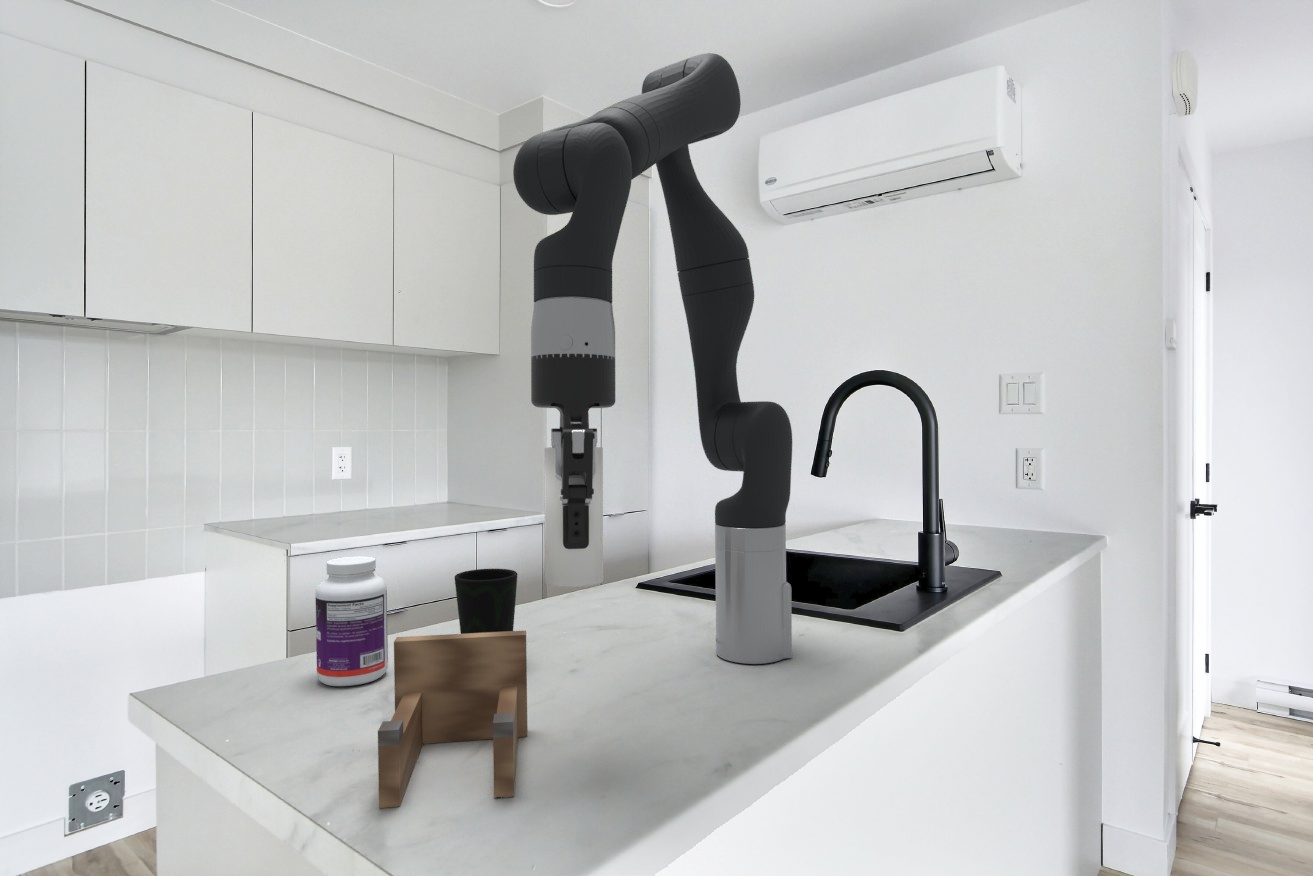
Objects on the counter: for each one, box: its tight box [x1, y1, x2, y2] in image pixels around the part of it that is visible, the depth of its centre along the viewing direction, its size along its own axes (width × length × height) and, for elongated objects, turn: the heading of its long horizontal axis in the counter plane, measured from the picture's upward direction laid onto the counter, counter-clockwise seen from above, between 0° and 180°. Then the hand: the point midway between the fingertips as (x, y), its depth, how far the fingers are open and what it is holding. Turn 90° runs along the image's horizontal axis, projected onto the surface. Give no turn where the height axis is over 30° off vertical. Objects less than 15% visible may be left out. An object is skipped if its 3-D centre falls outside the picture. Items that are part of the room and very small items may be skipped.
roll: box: [544, 446, 604, 588], centre depth 68 cm, size 5×5×12 cm
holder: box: [377, 630, 528, 809], centre depth 68 cm, size 12×14×10 cm
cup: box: [454, 568, 518, 634], centre depth 94 cm, size 8×8×12 cm
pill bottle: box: [314, 555, 389, 687], centre depth 91 cm, size 8×8×14 cm
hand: (573, 542), depth 68 cm, fingers closed on roll, 5 cm apart
